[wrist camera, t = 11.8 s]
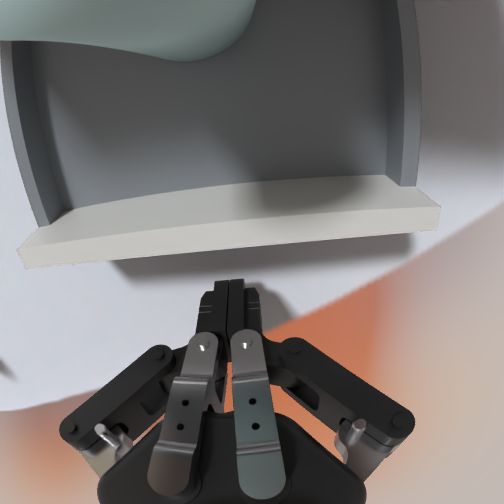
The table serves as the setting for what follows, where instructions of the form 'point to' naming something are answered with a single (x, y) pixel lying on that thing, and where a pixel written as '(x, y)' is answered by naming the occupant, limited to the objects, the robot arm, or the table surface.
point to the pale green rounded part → (131, 24)
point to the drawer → (223, 137)
